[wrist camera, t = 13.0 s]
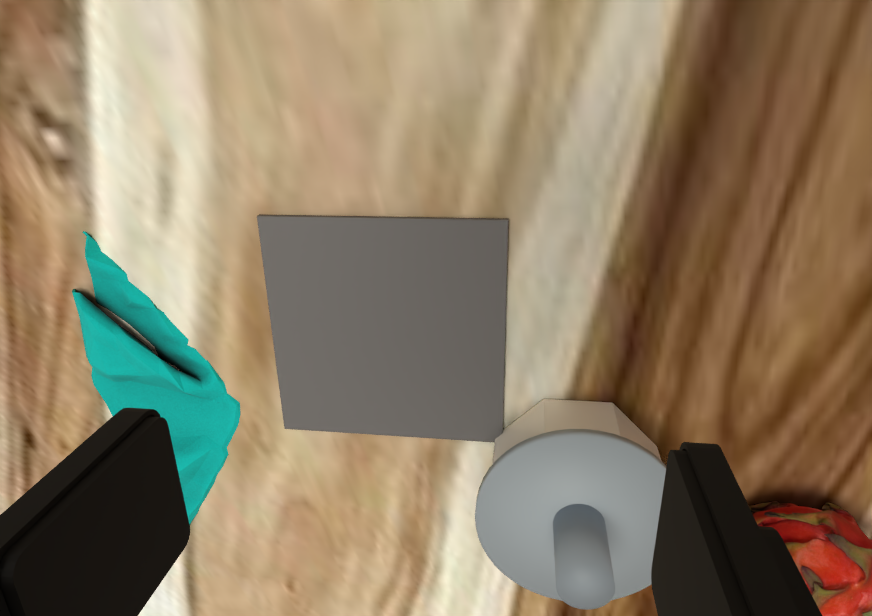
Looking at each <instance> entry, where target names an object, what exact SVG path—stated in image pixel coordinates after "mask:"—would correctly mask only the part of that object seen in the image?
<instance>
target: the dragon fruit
mask: <svg viewBox="0 0 872 616" xmlns="http://www.w3.org/2000/svg"><path fill="white" fill-rule="evenodd" d="M749 508H750V510H751V512H753V513H754V514H753V516H754V518H755V521H756V523H757V525H758V526H764V527H773V528H774V529H776V530H777V531H778V533H779V534H780V536H781V537H782V539H783V541H784V543H785V545H786V546H787V548H788V550H789V552H790V554H791V556H792V558H793V560H794V562H795V564H796V566H797V568H798V570H799V572H800V573H801V575H802V577H803V579H804V581H805V583H806V585H807V587H808V589H809V591H810V593H811V595H812V597H813V599H814V600H815V602H816V604H817V606H818V608H819V610H820V612H821V614H822V616H872V540H870V539H869V538H868V537H867V536H866V535H865V534H864V533H863V532H862V530H861V529H860V528H859V526H858V524H857V523H856V521H855V519H854V517H853V516H851V515H850V514H849V513H848V512H847V511H845V510H843V509H842V508H841V507H839V506H837V505H835V504H832V503H825V505H824V506H823V507H822V511H821V510H819V509H815V508H810V507H804V506H797V505H795V504H792V503H785V504H779V502H778V501H772V502H767V503H760V504H756V505H751V506H749Z"/></svg>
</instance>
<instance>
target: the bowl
mask: <svg viewBox="0 0 872 616" xmlns="http://www.w3.org/2000/svg"><path fill="white" fill-rule="evenodd" d="M564 429H591V430H599V431H604V432H608V433H613V434H616V435H619V436H622V437H625V438H627V439H629V440H632V441H634V442H636V443H638V444H640V445H641V446H643V447H644V448H646V449H648V450H649V451H651V452H652V453H653V454H654V455H656V456H657V457H658V458H659V459H660V460H661V458H660V455H659V452H658V448H657V446H656V445H655V444H654V443H653V442H652V441H651V440H650V439H649V438H648V437H647V436H646V435H645V434H644V433H643V432H642V431H641V430H640V429H639V428H638V427H637V426H636V425H635V424H634V423H633V422H632V421H631V420H630V419H629V418H628V417H627V416H626V415H625V414H624V413H623V412H622V411H620V410H619V409H618V408H617V407H616V406H615V405H614V404H613V403H611V402H593V401H574V400H556V399H543V400H542V401H540V402H539V403H538V404H536V405H535V406H534V407H532V408H531V409H530V410H529V411H527V412H526V413H525V414H523V415H522V416H521V417H519V418H518V419H517V420H515V421H514V422H513V423H512V424H510V425H509V426H508V427H506V428H505V429H504V430H503V433H502V434H501V435H500V436H499V437H497V438H496V439H495V445H494V456H493V464H494V462H495V461H496V460H497V459H498V458H499V457H500V456H501V455H503V454H504V453H505V452H506V451H507V450H509V449H510V448H512V447H513V446H515V445H516V444H518V443H520V442H522V441H524V440H526V439H528V438H531V437H534V436H536V435H539V434H542V433H547V432H551V431H555V430H564Z"/></svg>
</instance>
